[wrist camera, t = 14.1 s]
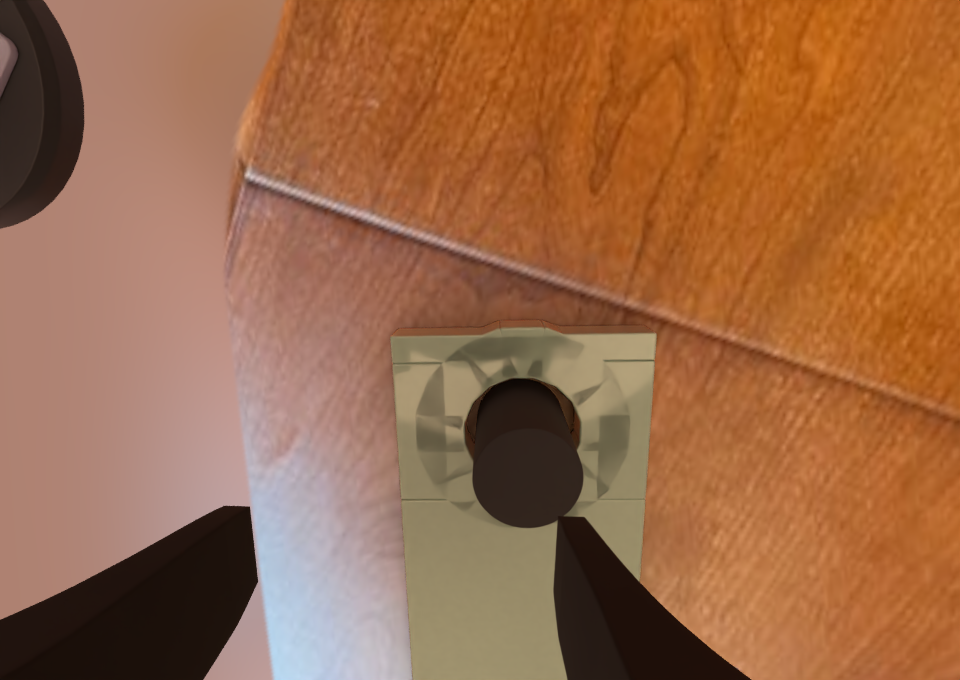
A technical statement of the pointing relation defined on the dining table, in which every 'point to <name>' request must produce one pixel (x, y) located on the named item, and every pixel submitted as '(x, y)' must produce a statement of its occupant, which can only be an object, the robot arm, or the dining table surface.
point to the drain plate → (473, 531)
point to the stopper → (525, 456)
